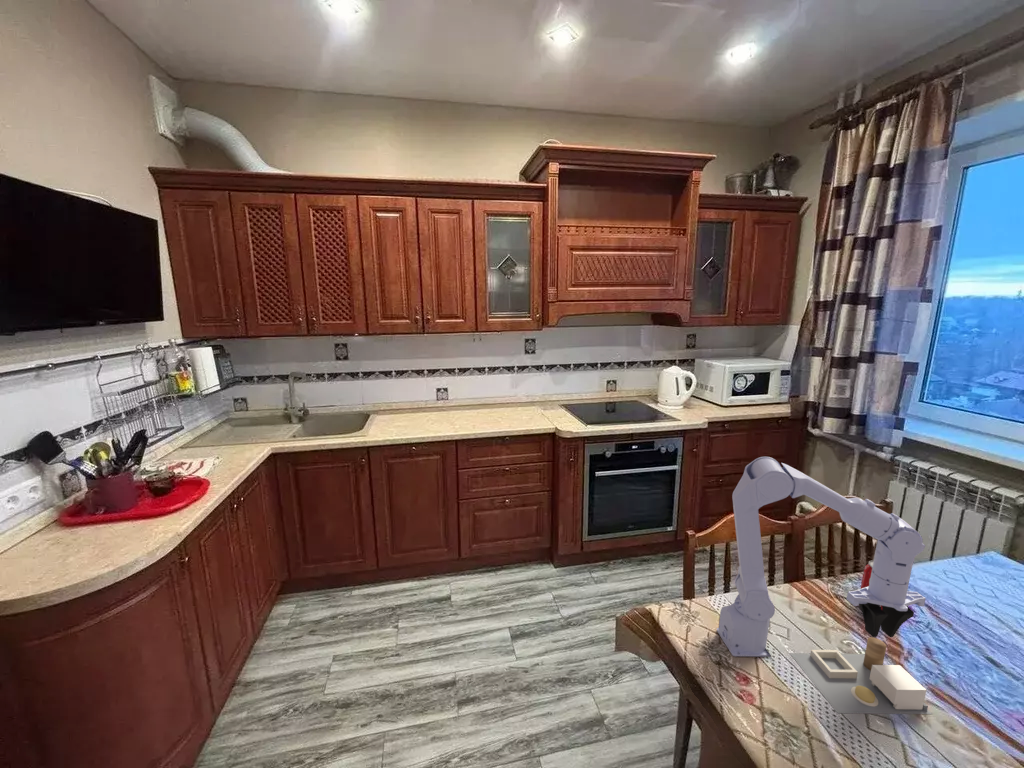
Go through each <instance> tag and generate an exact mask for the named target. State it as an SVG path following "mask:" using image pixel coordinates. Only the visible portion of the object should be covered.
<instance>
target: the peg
mask: <svg viewBox="0 0 1024 768" xmlns="http://www.w3.org/2000/svg"><path fill="white" fill-rule="evenodd" d="M886 650H887V644H886V643H885V642H884V641H883V640H881V639H879V638H877V637H872V636H870V637H867V642H866V646H865V651H864V654H865V657H864V662H863V664H864V666H865V667H866V668H867V669H869V670H870V671H871V668H872V665H884V662H885V661H884V660H885V657H886V652H887V651H886Z"/></svg>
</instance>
